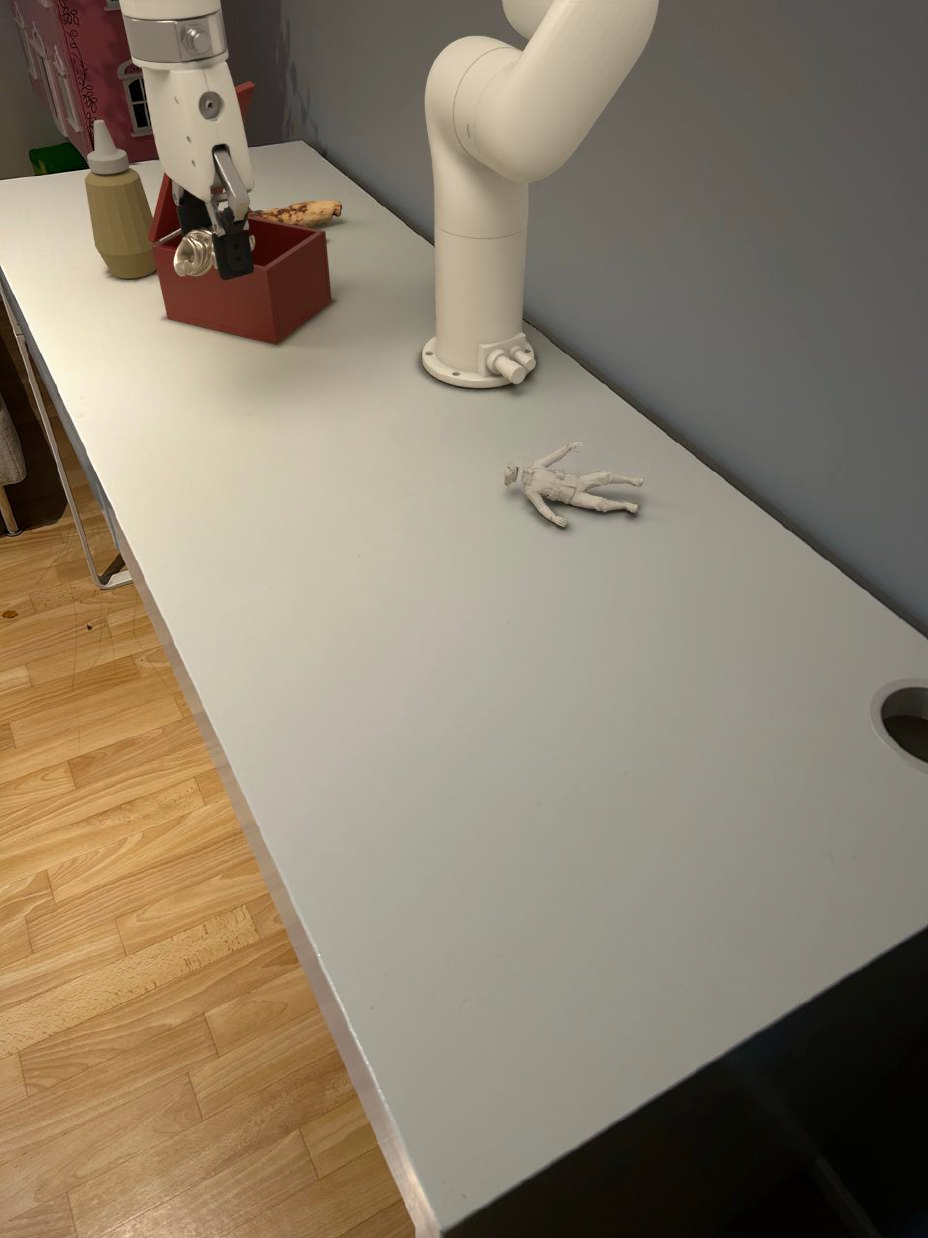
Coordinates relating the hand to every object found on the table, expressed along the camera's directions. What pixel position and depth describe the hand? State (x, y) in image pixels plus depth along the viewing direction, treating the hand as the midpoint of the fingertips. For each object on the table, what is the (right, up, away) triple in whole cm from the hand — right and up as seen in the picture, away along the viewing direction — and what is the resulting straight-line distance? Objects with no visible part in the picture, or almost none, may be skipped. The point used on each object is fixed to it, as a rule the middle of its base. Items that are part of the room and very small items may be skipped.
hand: (219, 259), depth 86 cm
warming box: (-4, +5, +29) cm, 30 cm away
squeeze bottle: (-21, +13, +37) cm, 45 cm away
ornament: (0, -1, +1) cm, 1 cm away
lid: (-7, +18, +19) cm, 27 cm away
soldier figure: (+32, -22, +1) cm, 39 cm away
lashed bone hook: (-3, +21, +46) cm, 51 cm away
